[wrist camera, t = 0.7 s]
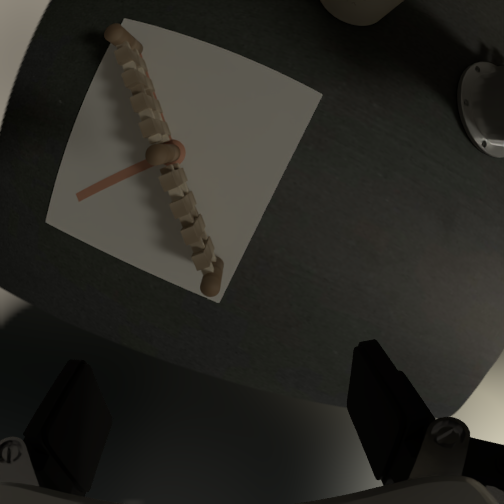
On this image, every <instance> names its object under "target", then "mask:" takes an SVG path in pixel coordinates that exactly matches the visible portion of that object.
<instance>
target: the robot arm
mask: <svg viewBox="0 0 504 504" xmlns="http://www.w3.org/2000/svg"><path fill="white" fill-rule="evenodd" d="M457 103H458V111H459V115H460V119H461V122H462V124H463V127H464V129H465V131H466V133H467V135H468V137H469V138H470V140H471V141H472V143H473V144H474V145H475V146H476V147H477V148H478V149H479V150H480V151H481V152H483V153H484V154H486V155H488V156H491V157H496V158H504V65H502V66H496V65H494V64H492V63H489V62H477V63H474V64H472V65H469V66H468V67H467V68H466V69H465V70H464V72H463V73H462V75H461V77H460V80H459V83H458V89H457ZM347 409H348V412H349V414H350V417H351V419H352V422H353V424H354V426H355V429H356V431H357V433H358V436H359V439H360V441H361V443H362V446H363V448H364V451H365V453H366V455H367V458H368V461H369V463H370V466H371V468H372V471H373V473H374V476H375V478H376V479H377V480H380V479H381V481H382V483H383V485H384V486H381V487H376V488H372V489H369V490H365V491H360V492H356V493H352V494H347V495H342V496H337V497H332V498H327V499H321V500H316V501H310V502H304V503H297V504H504V445H501V444H496V443H492V442H488V441H484V440H479V439H475V438H471V437H470V431H469V429H468V427H467V426H466V424H465V423H464V422H462V421H461V420H459V419H456V418H453V417H442V418H438V419H435V418H434V416H433V415H432V413H431V412H430V410H429V409H428V407H427V406H426V404H425V403H424V401H423V400H422V398H421V397H420V395H419V394H418V393H417V391H416V390H415V388H414V387H413V385H412V384H411V382H410V381H409V380H408V378H407V377H406V375H405V374H404V373H403V372H402V371H398V370H397V369H396V367H395V366H394V364H393V363H392V361H391V360H390V359H389V357H388V356H387V354H386V353H385V351H384V350H383V349H382V347H381V346H380V344H379V343H378V341H377V340H375V339H374V340H368V341H363V342H360V343H359V345H358V347H355V348H354V352H353V360H352V369H351V376H350V384H349V391H348V398H347ZM111 426H112V416H111V414H110V411H109V409H108V407H107V405H106V403H105V400H104V398H103V396H102V393H101V391H100V389H99V386H98V384H97V382H96V379H95V377H94V374H93V371H92V369H91V367H90V365H89V364H87V363H86V362H85V361H84V360H69V361H68V362H67V364H66V365H65V367H64V368H63V370H62V371H61V373H60V374H59V376H58V378H57V379H56V380H55V382H54V384H53V385H52V387H51V388H50V390H49V391H48V393H47V395H46V397H45V398H44V400H43V401H42V403H41V404H40V406H39V408H38V409H37V411H36V413H35V414H34V416H33V418H32V419H31V421H30V423H29V424H28V426H27V428H26V430H25V432H24V433H23V435H24V436H25V438H24V440H21V439H20V438H17V437H9V438H5V439H3V440H2V441H0V504H122V503H114V502H109V501H103V500H97V499H92V498H87V497H85V493H86V492H89V490H90V488H91V485H92V482H93V479H94V476H95V473H96V469H97V466H98V463H99V460H100V457H101V454H102V452H103V449H104V446H105V443H106V440H107V437H108V434H109V431H110V429H111Z"/></svg>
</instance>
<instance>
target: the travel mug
mask: <svg viewBox="0 0 504 504" xmlns="http://www.w3.org/2000/svg"><path fill="white" fill-rule="evenodd" d="M320 1H321V3H322V4H323V6H324V7H325V8H326V9H327V11H328V12H330V13H331V14H332V15H333V16H335V17H336V18H338V19H339V20H341V21H343V22H346V23H349V24H352V25H358V26H367V25H371V24H374V23H376V22H378V21H379V20H380V19H382V18H383V17H384V16H385V15H386V14H388V13H389V12H390V11H391V10H393V9H394V8H395V7H396V6H398V5H399V4H400V3H401V2H403V1H404V0H320Z"/></svg>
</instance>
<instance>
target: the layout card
mask: <svg viewBox="0 0 504 504" xmlns="http://www.w3.org/2000/svg"><path fill="white" fill-rule="evenodd" d="M121 26H122V27H123V28H125V29H126V30H127V31H128V32H129V33H130V34H131V35H132V36H133V37H134V38H135V39H137V40H138V41H139V42H140V43H141V44H142V46H143V51H142V53H141V54H140V57H141V58H143V59H144V60H145V63H146V66H147V69H148V71H147V72H146V75H147V77H148V78H149V79H151V80H152V83H153V86H154V88H155V92H153V95H154V98H155V99H157V100H159V102H160V105H161V108H162V111H163V113H161V117H162V120H163V121H164V122H167V124H168V127H169V130H170V132H171V135H169V139H170V140H169V141H167V142H165V143H162V144H174V145H177V146H178V147H179V149H180V152H181V154H180V157H179V159H178V160H176V161H174V162H170V163H166V164H161V165H157V166H153V165H151V164H149V163H148V162H147V160H146V158H145V153H146V150H147V148H148V147H149V146H151V145H153V144H150V143H149V140H148V138H143V135H142V132H141V130H140V127H139V124H138V123H140V122H142V121H141V118H140V115H139V113H136V112H134V110H133V107H132V104H131V101H130V99H129V98H130V97H132V96H133V95H132V92H131V90H130V89H129V88H126V87H125V84H124V81H123V78H122V75H121V74H122V73H124V69H123V66H121V65H119V64H118V63H117V60H116V56H115V53H114V51H115V50H117V47H116V46H114V45H113V44H112V43H111V44H110V45H109V47H108V49H107V51H106V53H105V55H104V57H103V59H102V61H101V63H100V65H99V67H98V69H97V72H96V74H95V76H94V78H93V80H92V82H91V85H90V87H89V89H88V92H87V94H86V96H85V99H84V101H83V103H82V106H81V108H80V111H79V113H78V116H77V119H76V121H75V124H74V127H73V129H72V132H71V135H70V138H69V140H68V143H67V146H66V149H65V152H64V155H63V158H62V162H61V165H60V168H59V171H58V175H57V178H56V182H55V185H54V189H53V193H52V197H51V201H50V205H49V209H48V213H47V217H46V223H48V224H50V225H52V226H54V227H56V228H58V229H60V230H62V231H64V232H65V233H67V234H69V235H71V236H73V237H75V238H77V239H79V240H81V241H83V242H85V243H87V244H89V245H92V246H94V247H96V248H98V249H100V250H102V251H104V252H106V253H108V254H110V255H112V256H114V257H116V258H119V259H121V260H123V261H125V262H127V263H129V264H131V265H133V266H136V267H138V268H140V269H142V270H144V271H146V272H149V273H151V274H153V275H155V276H158V277H160V278H162V279H164V280H166V281H169V282H171V283H173V284H175V285H178V286H180V287H182V288H185V289H187V290H189V291H192V292H194V293H196V294H199V295H201V296H203V297H206V298H208V299H210V300H213V301H215V302H218V303H219V302H220V300H221V298H222V296H223V294H224V292H225V290H226V288H227V286H228V284H229V282H230V280H231V278H232V276H233V274H234V272H235V270H236V268H237V266H238V264H239V262H240V260H241V258H242V256H243V254H244V252H245V250H246V248H247V245H248V243H249V241H250V239H251V237H252V235H253V233H254V231H255V229H256V227H257V225H258V223H259V221H260V219H261V217H262V215H263V213H264V211H265V209H266V207H267V205H268V203H269V201H270V199H271V197H272V195H273V193H274V191H275V189H276V187H277V185H278V183H279V181H280V179H281V177H282V175H283V173H284V171H285V169H286V167H287V165H288V163H289V161H290V159H291V157H292V155H293V153H294V151H295V149H296V147H297V145H298V143H299V141H300V139H301V137H302V135H303V133H304V131H305V129H306V127H307V125H308V123H309V121H310V119H311V117H312V115H313V113H314V111H315V109H316V107H317V105H318V103H319V101H320V99H321V97H322V95H323V94H321V93H319V92H317V91H315V90H313V89H311V88H310V87H308V86H306V85H304V84H302V83H300V82H298V81H296V80H294V79H292V78H290V77H288V76H285V75H283V74H281V73H279V72H277V71H275V70H273V69H270V68H268V67H266V66H264V65H262V64H259V63H257V62H255V61H252V60H250V59H248V58H245V57H243V56H240V55H238V54H235V53H233V52H230V51H228V50H225V49H223V48H220V47H217V46H215V45H212V44H209V43H206V42H204V41H201V40H198V39H195V38H192V37H189V36H186V35H183V34H180V33H177V32H173V31H170V30H167V29H163V28H160V27H156V26H153V25H149V24H146V23H142V22H138V21H134V20H130V19H126V18H124V20H123V22H122V24H121ZM154 144H158V142H157V143H154ZM176 163H179V165H180V168H183V169H184V172H185V174H186V177H187V179H188V181H186V184H187V186H188V189H189V191H192V192H193V195H194V197H195V200H196V203H197V204H196V205H195V207H196V209H197V212H198V214H201V215H202V218H203V220H204V223H205V225H206V227H205V232H206V234H207V237H208V236H210V238H211V240H212V243H213V245H214V248H215V249H214V254H215V256H217V257H219V258H221V259H222V260H223V262H224V267H223V274H222V280H221V287H220V291H219V293H218V294H217V295H216V296H214V297H207V296H205V295H204V294H203V293H202V292H201V290H200V284H201V281H202V278H203V274H202V272H201V270H199V271H197V270H196V267H195V265H194V263H193V260H192V258H191V256H192V254H193V251H192V248H191V246H190V245H187V246H186V244H185V242H184V239H183V237H182V235H181V232H180V230H181V229H182V228H183V227H182V225H181V222H180V220H179V218H177V219H175V218H174V215H173V213H172V210H171V208H170V205H169V204H170V203H171V202H172V200H171V197H170V195H169V192H168V191H166V192H164V190H163V188H162V185H161V183H160V180H159V178H158V177H160V176H162V174H161V172H160V169H161V168H164V167H166V166H168V165H171V164H172V165H173V164H176Z"/></svg>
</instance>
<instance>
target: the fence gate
mask: <svg viewBox="0 0 504 504" xmlns="http://www.w3.org/2000/svg"><path fill="white" fill-rule="evenodd" d="M160 172H161V174H162V176H160V177H158V178H159V180H160V183H161V185H162V188H163V190H164V192H166V191H168V192H169V195H170V197H171V200H172V202H171V203H170V204H169V205H170V208H171V210H172V213H173V215H174V218H175V219H177V218H179V220H180V222H181V225H182V227H183V228H182V229H181V230H180V232H181V235H182V237H183V239H184V242H185V244H186V246H187V245H190V246H191V248H192V251H193V254H192V256H191V258H192V260H193V263H194V265H195V267H196V270H197V271H199V270H201V272H202V274H203V278H202V281H201V284H200V290H201V292H202V293H203V294H204V295H205V296H207V297H214V296H216V295H217V294H218V293H219V291H220V287H221V280H222V274H223V267H224V262H223V260H222V259H221V258H219V257H217V256H215V254H214V249H215V248H214V245H213V243H212V240H211V238H210V236H208V237H207V234H206V232H205V227H206V225H205V223H204V220H203V218H202V215H201V214H198V212H197V209H196V207H195V205H196V204H197V203H196V200H195V197H194V195H193V192H192V191H189V189H188V186H187V184H186V181H188V179H187V177H186V174H185V172H184V169H183V168H180V165H179V163H176V164H173V165H172V164H171V165H168V166H166V167H164V168H161V169H160Z"/></svg>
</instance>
